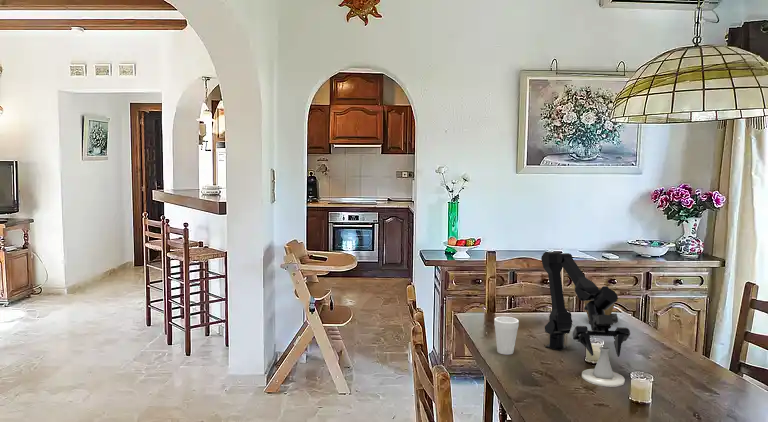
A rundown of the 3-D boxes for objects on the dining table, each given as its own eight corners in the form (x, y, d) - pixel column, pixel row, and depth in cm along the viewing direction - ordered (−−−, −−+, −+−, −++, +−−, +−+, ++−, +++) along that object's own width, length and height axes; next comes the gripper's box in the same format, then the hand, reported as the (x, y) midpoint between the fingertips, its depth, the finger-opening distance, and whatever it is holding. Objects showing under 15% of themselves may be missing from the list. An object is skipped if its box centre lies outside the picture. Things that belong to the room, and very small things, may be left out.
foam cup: (503, 357, 219) (504, 324, 218) (488, 349, 227) (489, 318, 226) (522, 353, 224) (523, 321, 223) (507, 346, 232) (508, 315, 231)
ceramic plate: (591, 368, 209) (591, 365, 209) (630, 379, 200) (630, 376, 200) (575, 378, 199) (575, 375, 199) (615, 390, 189) (615, 387, 189)
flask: (615, 380, 195) (617, 352, 194) (593, 378, 197) (595, 350, 196) (612, 373, 202) (613, 345, 201) (590, 371, 204) (592, 343, 203)
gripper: (576, 303, 201) (584, 344, 191) (630, 305, 201) (640, 346, 191) (569, 319, 210) (576, 358, 200) (620, 320, 209) (630, 360, 199)
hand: (605, 355), depth 197 cm, fingers open, 9 cm apart
